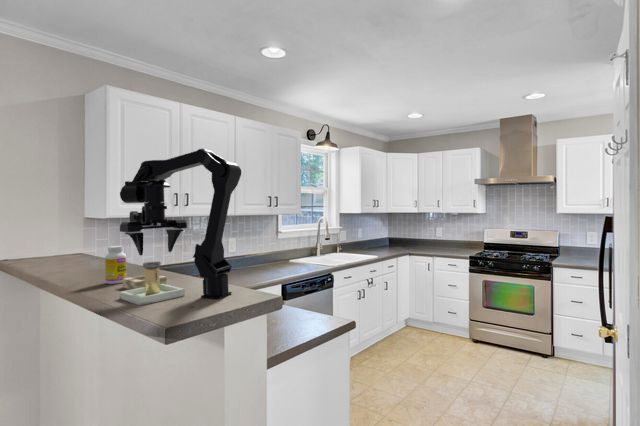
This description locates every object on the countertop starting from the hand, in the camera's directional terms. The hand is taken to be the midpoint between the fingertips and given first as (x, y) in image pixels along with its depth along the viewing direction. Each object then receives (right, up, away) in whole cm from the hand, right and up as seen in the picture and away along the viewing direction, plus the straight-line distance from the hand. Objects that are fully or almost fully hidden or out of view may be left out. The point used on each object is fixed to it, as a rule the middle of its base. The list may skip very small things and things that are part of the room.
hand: (155, 253), depth 115 cm
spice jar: (+1, -12, -5) cm, 13 cm away
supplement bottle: (-22, -13, +19) cm, 32 cm away
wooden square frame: (-8, -12, +10) cm, 18 cm away
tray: (+1, -12, -5) cm, 13 cm away
